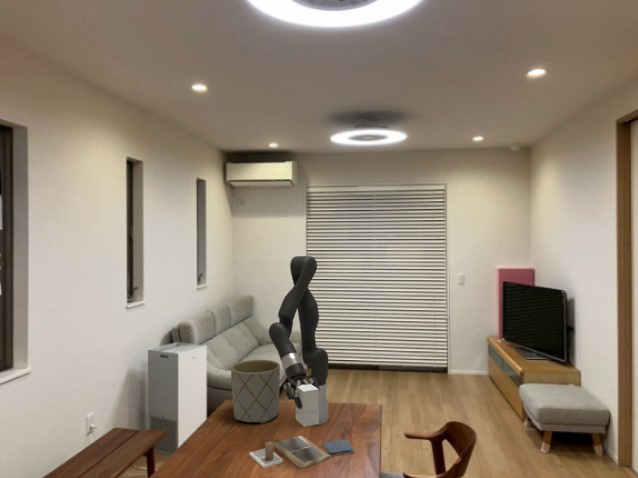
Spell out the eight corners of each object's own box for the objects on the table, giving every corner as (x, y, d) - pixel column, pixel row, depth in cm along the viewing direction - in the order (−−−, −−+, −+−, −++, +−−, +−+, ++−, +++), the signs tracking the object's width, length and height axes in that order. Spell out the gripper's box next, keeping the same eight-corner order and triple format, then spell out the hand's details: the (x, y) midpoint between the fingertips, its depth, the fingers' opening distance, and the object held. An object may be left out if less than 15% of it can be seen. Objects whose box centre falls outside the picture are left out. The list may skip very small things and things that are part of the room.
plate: (268, 449, 181) (267, 431, 180) (282, 462, 170) (282, 443, 170) (249, 455, 176) (249, 436, 176) (263, 468, 166) (263, 448, 166)
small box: (319, 424, 171) (319, 389, 171) (303, 427, 169) (303, 391, 169) (310, 416, 179) (310, 382, 179) (295, 419, 176) (295, 385, 176)
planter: (222, 423, 207) (221, 371, 207) (244, 405, 229) (244, 358, 229) (269, 428, 201) (268, 374, 201) (287, 409, 223) (287, 361, 222)
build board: (301, 438, 191) (301, 435, 191) (329, 458, 173) (329, 454, 173) (273, 446, 183) (273, 443, 183) (300, 468, 166) (300, 464, 166)
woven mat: (346, 442, 187) (346, 437, 187) (355, 454, 177) (355, 449, 177) (321, 446, 184) (321, 441, 184) (329, 458, 174) (329, 453, 174)
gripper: (280, 364, 176) (296, 404, 166) (312, 359, 184) (329, 397, 174) (274, 375, 181) (289, 414, 171) (305, 369, 188) (321, 407, 179)
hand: (309, 405), depth 172 cm, fingers closed on small box, 6 cm apart
